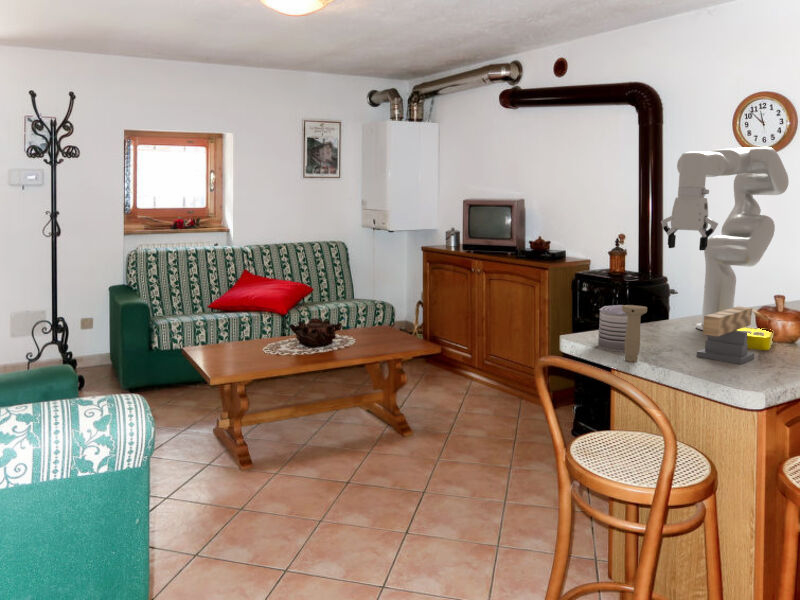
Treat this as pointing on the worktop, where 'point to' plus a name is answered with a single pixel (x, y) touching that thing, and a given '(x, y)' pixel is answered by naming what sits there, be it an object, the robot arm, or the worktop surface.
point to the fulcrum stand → (727, 348)
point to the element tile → (758, 338)
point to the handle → (633, 331)
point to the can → (612, 328)
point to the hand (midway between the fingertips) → (686, 248)
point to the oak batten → (727, 321)
